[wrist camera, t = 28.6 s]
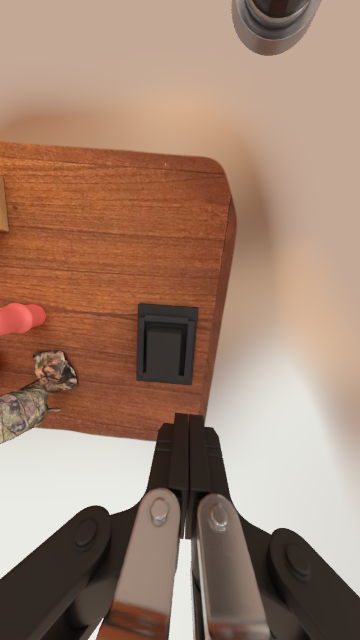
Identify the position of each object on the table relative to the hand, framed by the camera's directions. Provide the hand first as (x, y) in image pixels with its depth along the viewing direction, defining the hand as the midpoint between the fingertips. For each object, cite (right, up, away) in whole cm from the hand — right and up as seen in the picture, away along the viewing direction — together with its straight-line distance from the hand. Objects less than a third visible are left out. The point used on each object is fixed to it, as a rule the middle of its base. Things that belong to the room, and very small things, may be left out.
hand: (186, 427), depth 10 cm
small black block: (-3, +1, +21) cm, 21 cm away
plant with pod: (-24, -5, +25) cm, 35 cm away
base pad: (-3, +1, +22) cm, 23 cm away
